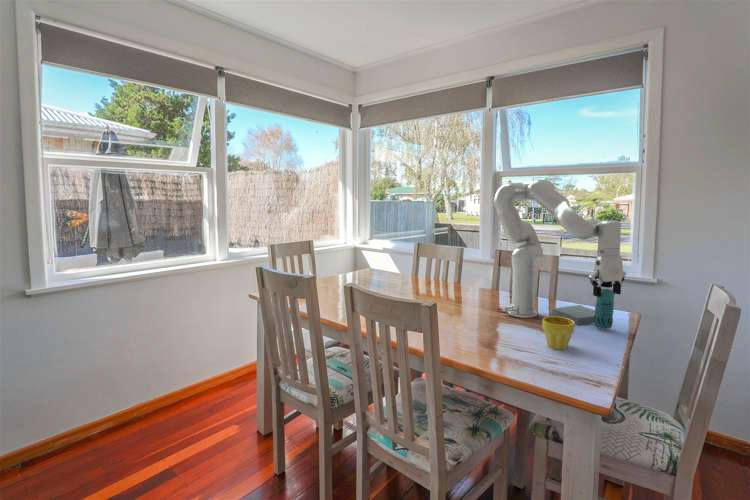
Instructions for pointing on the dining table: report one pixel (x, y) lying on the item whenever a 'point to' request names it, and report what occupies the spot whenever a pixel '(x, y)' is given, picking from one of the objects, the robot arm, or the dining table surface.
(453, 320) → the dining table surface
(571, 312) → the stand
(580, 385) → the dining table surface
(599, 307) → the beverage bottle
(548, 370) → the dining table surface
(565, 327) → the plant pot
